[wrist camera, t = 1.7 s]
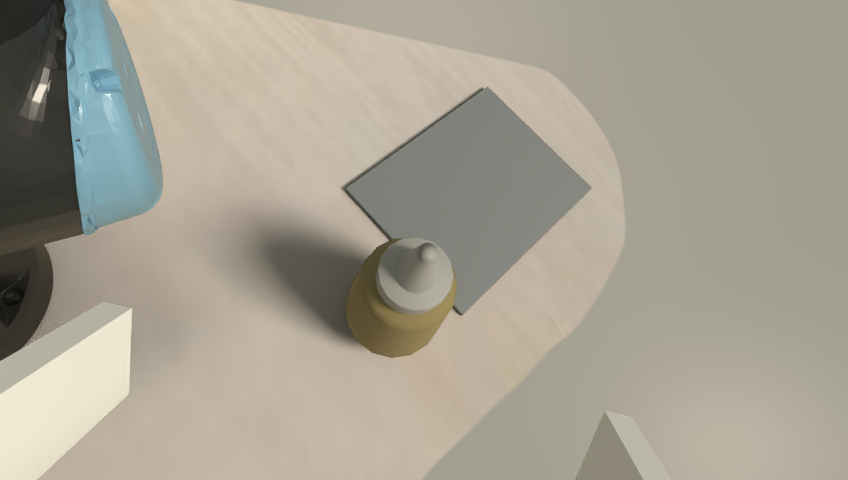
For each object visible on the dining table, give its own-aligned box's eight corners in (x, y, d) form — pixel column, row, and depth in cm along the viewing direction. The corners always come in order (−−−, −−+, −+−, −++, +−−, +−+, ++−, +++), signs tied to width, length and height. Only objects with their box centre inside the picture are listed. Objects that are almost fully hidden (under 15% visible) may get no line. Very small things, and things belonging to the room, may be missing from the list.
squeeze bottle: (327, 336, 37) (319, 286, 21) (369, 258, 41) (392, 160, 24) (410, 377, 38) (469, 359, 21) (446, 296, 41) (521, 224, 24)
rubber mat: (345, 190, 42) (345, 188, 42) (485, 90, 50) (487, 86, 50) (461, 315, 40) (462, 314, 40) (588, 190, 48) (591, 188, 47)
